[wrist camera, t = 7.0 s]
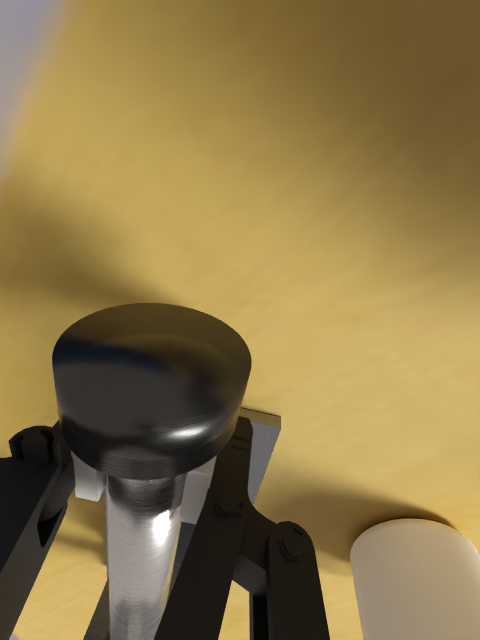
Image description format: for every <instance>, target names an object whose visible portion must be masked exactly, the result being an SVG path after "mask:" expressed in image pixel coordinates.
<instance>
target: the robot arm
mask: <svg viewBox="0 0 480 640" xmlns="http://www.w3.org/2000/svg"><path fill="white" fill-rule="evenodd" d="M252 438H253V427H252V424H251V422H250V419H249V418H246V417H242V416H238V420H237V424H236V428H235V430H234V432H233V435H232V437H231V438H230V440H229V442H228V443H227V445H226V446H225V447H224V448H223V449H222V450H221V451H220V452H219V453H218V454H217V455H216V456H215V457H214V458H212V459H211V460H210V461H208V462H207V463H205V464H203V465H202V466H200V467H198V468H196V469H194V470H192V471H190V472H187V474H186V480H185V486H184V492H183V497H182V503H181V509H180V514H179V520H178V521H183V522H187V523H191V524H195V525H196V526H195V529H194V532H193V534H192V537H191V540H190V542H189V545H188V548H187V550H186V553H185V556H184V559H183V561H182V564H181V567H180V569H179V572H178V575H177V577H176V580H175V583H174V586H173V588H172V591H171V594H170V596H169V599H168V602H167V604H166V607H165V610H164V613H163V615H162V618H161V621H160V623H159V626H158V629H157V631H156V634H155V637H154V640H218V638H219V633H220V629H221V625H222V620H223V616H224V612H225V608H226V603H227V599H228V595H229V590H230V586H231V582H232V580H233V581H235V582H236V583H238V584H239V585H240V586H242V587H243V588H244V589H246V590H247V591H249V607H250V640H330V636H329V631H328V625H327V619H326V613H325V607H324V602H323V596H322V590H321V584H320V579H319V573H318V567H317V561H316V555H315V550H314V546H313V543H312V540H311V538H310V537H309V535H308V534H307V532H306V531H305V530H304V529H303V528H302V527H300V526H299V525H298V524H296V523H293V522H290V521H285V522H280V523H278V524H276V523H274V522H272V521H271V520H269V519H268V518H266V517H264V516H263V515H262V514H260V513H259V512H258V511H257V510H256V509H255V508H254V506H253V505H252V503H251V501H250V499H249V495H248V480H249V469H250V459H251V448H252ZM9 445H10V449H11V453H12V457H7V458H0V640H9V638H10V636H11V634H12V632H13V629H14V627H15V625H16V623H17V620H18V618H19V616H20V614H21V612H22V609H23V607H24V605H25V603H26V600H27V598H28V596H29V594H30V591H31V589H32V587H33V585H34V582H35V580H36V578H37V576H38V574H39V571H40V569H41V567H42V565H43V562H44V560H45V558H46V556H47V553H48V551H49V549H50V547H51V544H52V542H53V540H54V538H55V536H56V533H57V531H58V529H59V527H60V524H61V522H62V520H63V518H64V515H65V513H66V509H67V499H68V498H69V496H70V494H71V493H72V491H73V490H74V488H75V495H76V497H78V498H82V499H87V500H91V501H95V502H98V500H99V498H100V496H101V495H102V493H103V491H104V489H105V487H106V485H107V474H105V473H102V472H100V471H98V470H96V469H94V468H92V467H90V466H89V465H87V464H86V463H84V462H83V461H81V460H80V459H79V458H78V457H77V456H76V455H75V454H74V453H73V452H72V451H71V449H70V448H69V447H68V445H67V444H66V442H65V440H64V437H63V435H62V432H61V428H60V421H59V420H58V421H57V423H56V424H55V425H54V426H53V427H48V426H33V427H30V428H26V429H24V430H22V431H20V432H18V433H17V434H15V435H14V436H13V437H12V438H11V439H10V440H9Z"/></svg>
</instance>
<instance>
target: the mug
mask: <svg viewBox="0 0 480 640" xmlns="http://www.w3.org/2000/svg"><path fill="white" fill-rule="evenodd" d="M350 561H351V569H352V575H353V581H354V587H355V593H356V599H357V604H358V610H359V616H360V622H361V627H362V633H363V639H364V640H480V555H479V553H478V551H477V549H476V548H475V546H474V545H473V543H472V542H471V541H470V540H469V539H468V538H467V537H466V536H464V535H463V534H462V533H460V532H459V531H457V530H455V529H453V528H451V527H449V526H447V525H444V524H442V523H438V522H435V521H430V520H424V519H396V520H390V521H386V522H383V523H380V524H377V525H375V526H373V527H371V528H369V529H367V530H366V531H364V532H363V533H362V534H361V535H360V536H359V537H358V538H357V539H356V541H355V542H354V544H353V546H352V548H351V552H350Z"/></svg>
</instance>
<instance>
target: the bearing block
mask: <svg viewBox="0 0 480 640" xmlns="http://www.w3.org/2000/svg"><path fill="white" fill-rule="evenodd" d="M239 416H242V417H246V418H249V419H250V422H251V424H252V427H253V438H252V448H251V459H250V469H249V480H248V495H249V499H250V501H251V503H252V505H253V504H254V501H255V498H256V495H257V493H258V490H259V487H260V484H261V482H262V479H263V476H264V474H265V471H266V468H267V465H268V463H269V460H270V457H271V454H272V452H273V449H274V446H275V444H276V441H277V438H278V435H279V433H280V430H281V417H279V416H274V415H270V414H266V413H261V412H257V411H252V410H248V409H244V408H241V409H240V413H239ZM104 490H105V524H106V559H107V579H108V580H107V582H106V585H105V587H104V590H103V592H102V594H101V597H100V599H99V602H98V604H97V607H96V609H95V612H94V614H93V617H92V619H91V622H90V624H89V627H88V629H87V631H86V634H85V636H84V639H83V640H110V604H109V561H108V517H107V485H106V487H105V489H104ZM195 526H196V525H195V524H191V523H187V522H183V521H181V527H180V532H179V538H178V543H177V549H176V554H175V560H174V565H173V570H172V576H171V581H170V587H169V592H168V598H167V602H168V599H169V596H170V594H171V591H172V588H173V586H174V583H175V580H176V577H177V575H178V572H179V569H180V567H181V564H182V561H183V559H184V556H185V553H186V550H187V548H188V545H189V542H190V540H191V537H192V534H193V532H194V529H195ZM166 604H167V603H166Z"/></svg>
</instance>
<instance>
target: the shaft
mask: <svg viewBox="0 0 480 640" xmlns="http://www.w3.org/2000/svg"><path fill="white" fill-rule="evenodd" d="M52 365H53V373H54V381H55V389H56V397H57V405H58V413H59V421H60V428H61V432H62V435H63V437H64V440H65V442H66V444H67V445H68V447H69V448H70V449H71V451H72V452H73V453H74V454H75V455H76V456H77V457H78V458H79V459H80V460H81V461H83V462H84V463H86V464H87V465H89V466H90V467H92V468H94V469H96V470H98V471H100V472H102V473H105V474H107V517H108V561H109V604H110V640H154V637H155V634H156V631H157V629H158V626H159V623H160V621H161V618H162V615H163V613H164V610H165V607H166V603H167V598H168V592H169V587H170V581H171V576H172V570H173V565H174V560H175V554H176V549H177V543H178V538H179V532H180V527H181V521H178V520H179V514H180V509H181V503H182V497H183V492H184V486H185V480H186V474H187V472H190V471H192V470H194V469H196V468H198V467H200V466H202V465H203V464H205V463H207V462H208V461H210V460H211V459H212V458H214V457H215V456H216V455H217V454H218V453H219V452H220V451H221V450H222V449H223V448H224V447H225V446H226V445H227V443H228V442H229V440H230V438H231V437H232V435H233V432H234V430H235V428H236V424H237V420H238V416H239V413H240V409H241V405H242V401H243V397H244V394H245V390H246V386H247V382H248V379H249V375H250V371H251V355H250V352H249V349H248V347H247V345H246V343H245V342H244V340H243V339H242V338H241V336H240V335H239V334H238V333H237V332H236V331H235V330H234V329H232V328H231V327H230V326H228V325H227V324H225V323H224V322H222V321H221V320H219V319H217V318H215V317H213V316H211V315H208V314H206V313H203V312H200V311H197V310H194V309H191V308H187V307H182V306H177V305H170V304H159V303H138V304H127V305H121V306H115V307H111V308H107V309H104V310H101V311H98V312H95V313H92V314H90V315H88V316H86V317H84V318H82V319H80V320H78V321H77V322H75V323H74V324H73V325H71V326H70V327H69V328H68V329H67V330H66V331H65V332H64V333H63V334H62V335H61V336H60V338H59V339H58V341H57V343H56V345H55V347H54V350H53V355H52Z"/></svg>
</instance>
